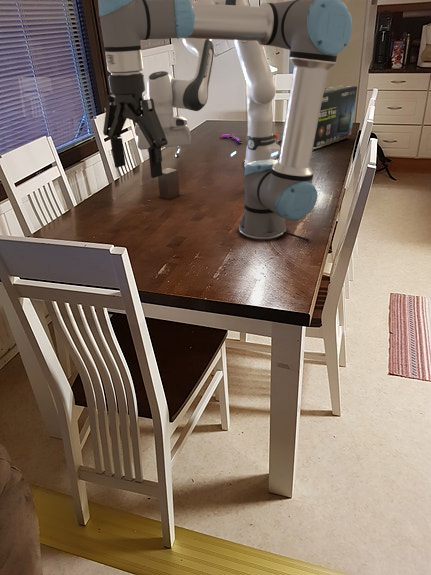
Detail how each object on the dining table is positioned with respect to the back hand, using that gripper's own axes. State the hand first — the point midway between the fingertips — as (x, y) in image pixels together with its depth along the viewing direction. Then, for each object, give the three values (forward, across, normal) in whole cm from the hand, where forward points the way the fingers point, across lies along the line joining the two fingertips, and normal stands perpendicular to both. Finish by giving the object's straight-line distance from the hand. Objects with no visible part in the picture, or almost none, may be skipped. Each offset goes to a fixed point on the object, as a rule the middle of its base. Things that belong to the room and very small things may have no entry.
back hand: (165, 158), depth 175 cm
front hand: (-16, -17, -65) cm, 69 cm away
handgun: (+15, +51, +77) cm, 93 cm away
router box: (+14, +95, +50) cm, 108 cm away
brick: (+15, 0, 0) cm, 15 cm away
